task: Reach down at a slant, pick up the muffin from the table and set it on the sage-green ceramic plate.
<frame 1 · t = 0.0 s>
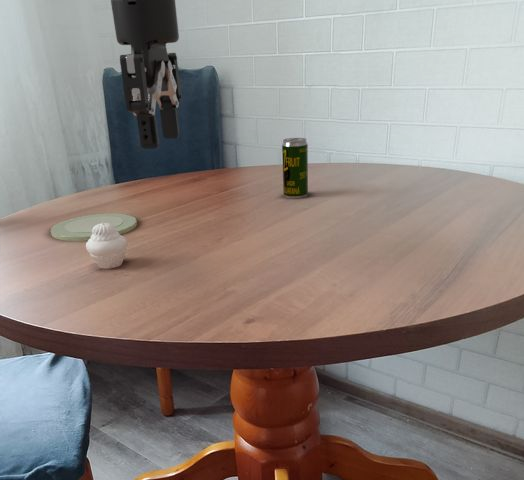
hand: (161, 142, 72), 18 cm above the table, tool pointing down, fingers open, 8 cm apart
green drink can: (295, 198, 119), on the table
muffin: (111, 267, 85), on the table
plate: (95, 229, 104), on the table
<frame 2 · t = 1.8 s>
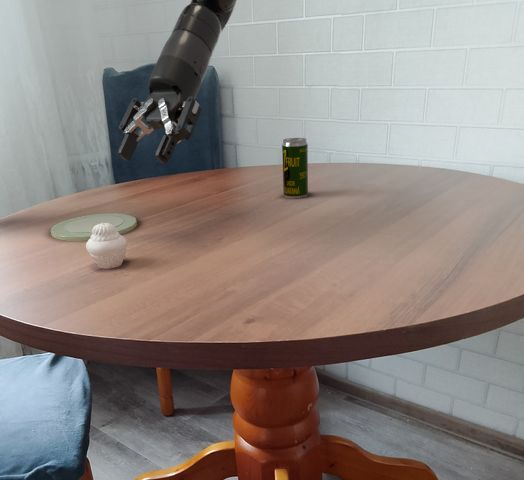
hand: (141, 159, 85), 15 cm above the table, tool tilted 45°, fingers open, 8 cm apart
nothing on the table moved.
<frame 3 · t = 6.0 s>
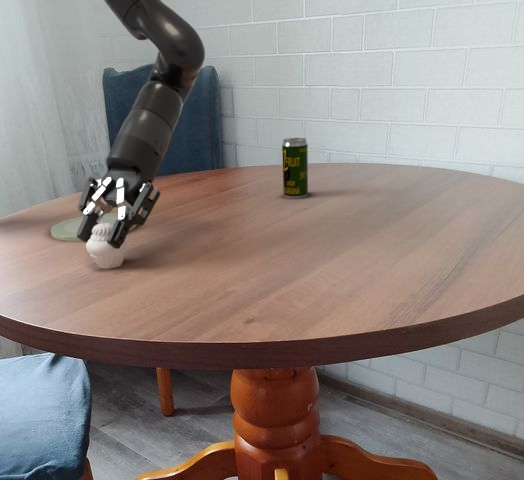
hand: (97, 242, 81), 4 cm above the table, tool tilted 45°, fingers closed on muffin, 6 cm apart
muffin: (111, 267, 85), on the table, touching gripper
everything else where it was.
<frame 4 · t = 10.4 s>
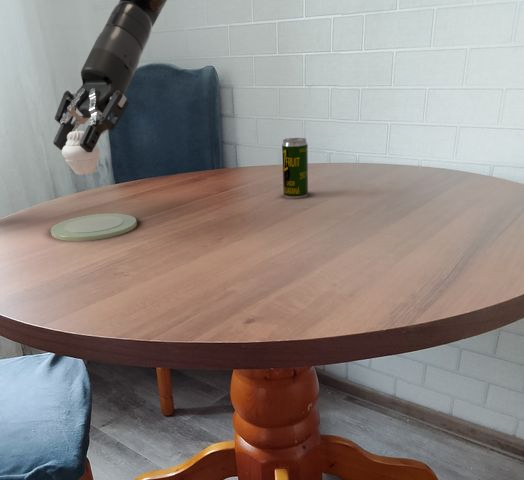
hand: (71, 147, 89), 16 cm above the table, tool tilted 45°, fingers closed on muffin, 6 cm apart
muffin: (85, 174, 92), point 12 cm above the table, touching gripper
everything else where it was.
when the fingers open (5 cm above the table, at t = 14.8 s): muffin stays where it is, resting on plate.
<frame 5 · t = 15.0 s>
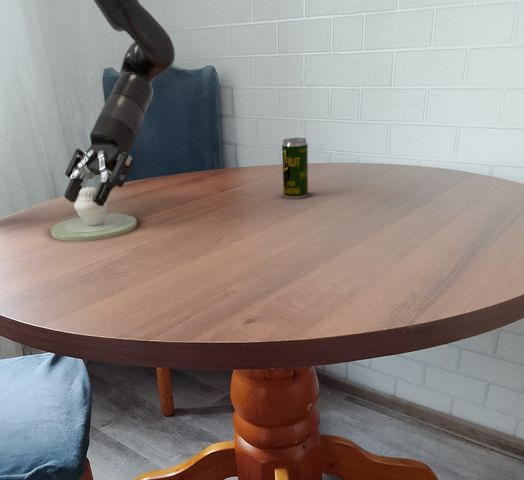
hand: (82, 201, 100), 6 cm above the table, tool tilted 45°, fingers open, 7 cm apart
muffin: (95, 224, 104), point 1 cm above the table, touching plate
everything else where it was.
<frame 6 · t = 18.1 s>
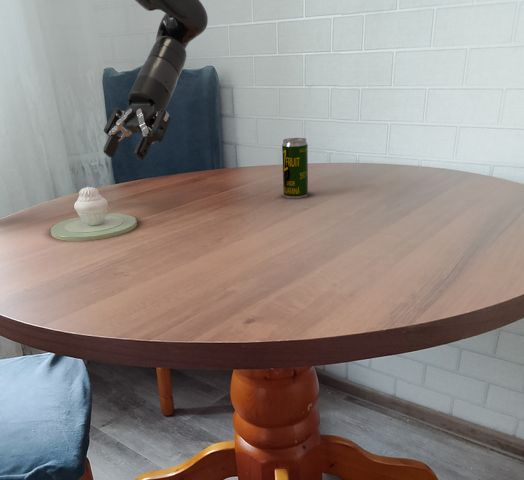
hand: (122, 155, 107), 12 cm above the table, tool tilted 45°, fingers open, 8 cm apart
nothing on the table moved.
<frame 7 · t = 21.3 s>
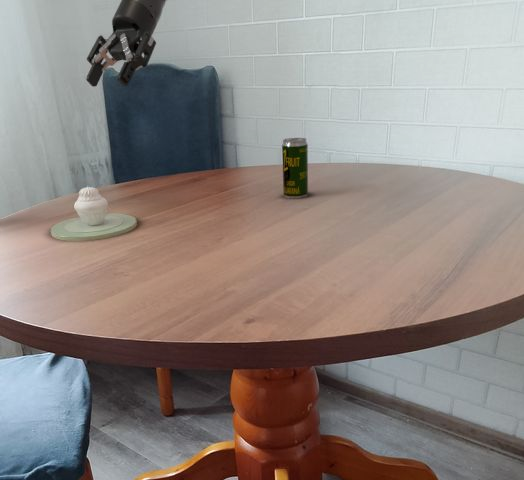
hand: (106, 83, 103), 25 cm above the table, tool tilted 45°, fingers open, 8 cm apart
nothing on the table moved.
at the end: muffin inside the target area on the plate (0.2 cm from its centre), point 0.9 cm above the plate's base; muffin tilted 0°; the gripper is holding nothing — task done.
